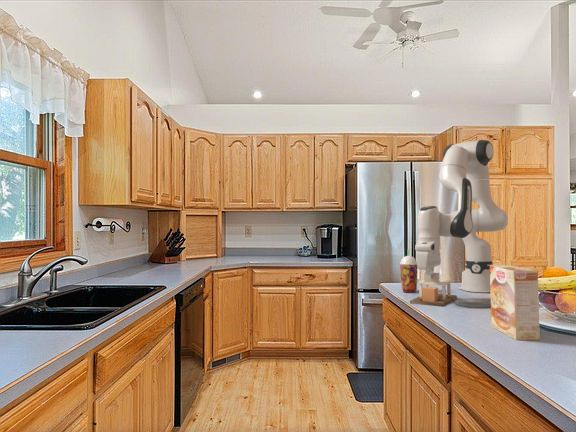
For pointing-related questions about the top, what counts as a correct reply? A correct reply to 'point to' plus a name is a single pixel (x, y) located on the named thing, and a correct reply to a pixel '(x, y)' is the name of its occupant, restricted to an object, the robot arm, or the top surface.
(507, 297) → the coffeecake box
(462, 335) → the top surface
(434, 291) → the block
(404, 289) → the smoothie
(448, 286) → the cover
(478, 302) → the saucer
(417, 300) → the puzzle board
